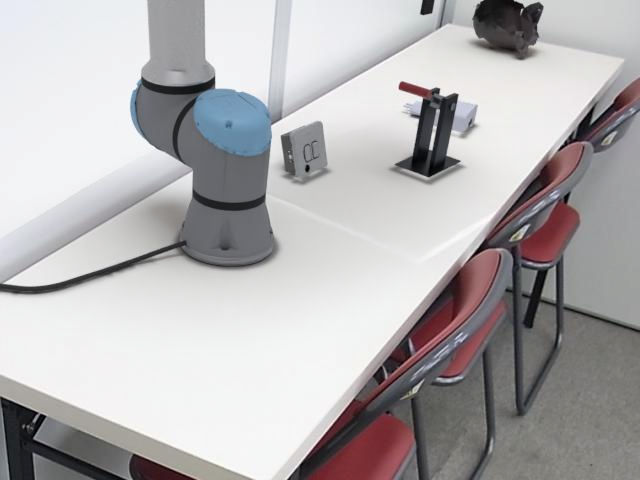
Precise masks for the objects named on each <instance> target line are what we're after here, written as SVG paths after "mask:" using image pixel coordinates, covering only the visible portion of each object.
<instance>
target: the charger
mask: <svg viewBox="0 0 640 480" xmlns="http://www.w3.org/2000/svg"><path fill="white" fill-rule="evenodd" d="M421 106H422V101H418V100H416V101H414V102H413V103H408V102H406V103H405V104H404V105H403V106H402V107H403V108H406V109H409V114H411V115H413V116H417V117H420V112H421ZM478 107H479V105H478V104H476V103H470V102H466V101H462V100H458V101H457V106H456V111H455V116H454V120H453V125H452V130H451V131H454V132H459V133H464V132H465V131H466V130H467V129H468V128H472V127H473V126H474V124H475V120H476V117H477V116H476V115H477V111H478ZM439 113H440V110H436V115H435V120H434V126H433V127H437V123H438V118H439Z"/></svg>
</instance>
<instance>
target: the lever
mask: <svg viewBox="0 0 640 480" xmlns="http://www.w3.org/2000/svg"><path fill="white" fill-rule="evenodd" d="M398 90H399V91H401V92H404V93H407V94H411V95H414V96H417V97H420V98H422V99H423V98H424V99H426V100H428V101H430V102H431V103H430V106H431V107H433V108H435V109H437V110H440V108H441V102H442V98H443V97H445V96H444V95H441V94H439V95H438V94H435V93H434V95H431V93H432V92H431V89H429V88H425V87H423V86H419V85H416V84H413V83H409V82H406V81H403V80H401V81H400V82H399V83H398Z"/></svg>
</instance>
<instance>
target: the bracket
mask: <svg viewBox="0 0 640 480" xmlns="http://www.w3.org/2000/svg"><path fill="white" fill-rule="evenodd" d="M430 90H431V92H432V93H431V95H434V93H435V94H438V95H441V88H440V87H438V86H436V87H434V88H430ZM459 95H460V94H459V93H456V92H453V93H450V94H448V95H446V96H444V97H443V98H442V102H441V108H440V113H439V118H438V123H437V126H436V129H435V135H434V139H433V144H432V149H430V146H431V141H432V135H433V130H434V127H435V126H434V120H435V115H436V110H437V109H435V108H433V107H431V106H430V103H431V102H430V101H428V100H426V99H424V98H422V101H421V102H422V106H421V112H420V116H418V117H419V118H418V124H417V129H416V135H415V140H414V146H413V151H412V155H411V156H409V157H407V158H404V159H403V160H401V161H398V162H396V163H394V166H396V167H398V168H399V167H400V168H402V169H404V170H408V171H410V172H413V173H415V174H418V175H421V176H424V177H426V178H431V177H433V176H436V175H437V174H439V173H441V172H443V171H445V170H447V169H449V168H451V167H453V166H455V165H457V164H460V163H461V162H462V160H460V159H457V158H454V157H453V156H449V155H447V154H448V151H449V150H448V149H449V145H450V140H451V135H452V131H453V130H452V125H453V120H454V116H455V111H456V106H457V101H459Z"/></svg>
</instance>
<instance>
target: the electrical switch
mask: <svg viewBox="0 0 640 480" xmlns="http://www.w3.org/2000/svg"><path fill="white" fill-rule="evenodd" d="M325 140H326V139H325V134H324V124H323V122H322V121H321V120H315V121H313V122H311V123H308V124H306V125H303V126H300V127H298V128H295V129H293V130H291V131H288V132H286V133H284V134H281V135H280V143H281V149H282V155H283V163H284V170H285V172H287V173H290V174H292V175H294V176H295V178H298V179H301V178H304V177H306V176H308V175H310V174H312V173H314V172H316V171H318V170H321V169H323V168H325V167H327V166H328V157H327V148H326V141H325Z"/></svg>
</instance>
